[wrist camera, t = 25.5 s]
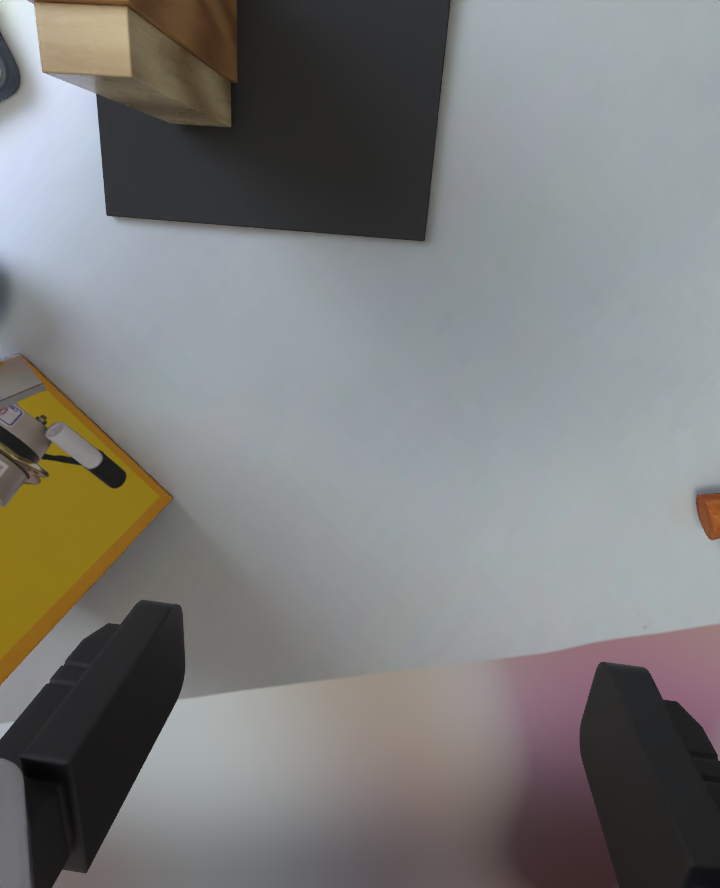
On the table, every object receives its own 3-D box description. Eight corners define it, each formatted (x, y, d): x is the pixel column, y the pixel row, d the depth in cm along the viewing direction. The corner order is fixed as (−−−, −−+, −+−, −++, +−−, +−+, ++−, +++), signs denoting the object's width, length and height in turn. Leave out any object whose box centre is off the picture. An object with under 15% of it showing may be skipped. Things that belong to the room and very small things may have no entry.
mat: (466, -149, 31) (467, -156, 30) (424, 240, 38) (424, 240, 38) (79, -160, 32) (73, -167, 32) (110, 215, 40) (106, 215, 39)
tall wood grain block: (168, 124, 37) (161, -38, 34) (238, 128, 36) (236, -36, 33) (28, 69, 24) (-6, -204, 21) (134, 75, 23) (116, -202, 20)
